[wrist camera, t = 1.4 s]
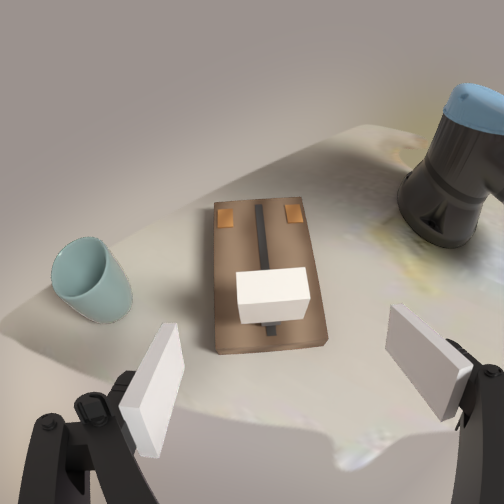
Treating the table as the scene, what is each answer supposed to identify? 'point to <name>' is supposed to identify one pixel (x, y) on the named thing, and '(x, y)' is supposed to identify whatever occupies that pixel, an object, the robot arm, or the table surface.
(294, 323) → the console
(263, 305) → the fader knob
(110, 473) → the robot arm
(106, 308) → the cup
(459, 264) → the table surface
